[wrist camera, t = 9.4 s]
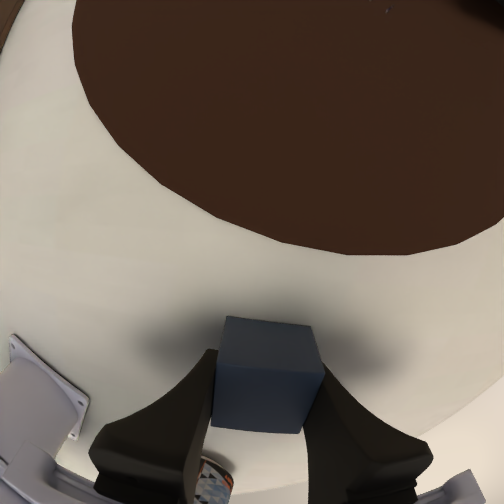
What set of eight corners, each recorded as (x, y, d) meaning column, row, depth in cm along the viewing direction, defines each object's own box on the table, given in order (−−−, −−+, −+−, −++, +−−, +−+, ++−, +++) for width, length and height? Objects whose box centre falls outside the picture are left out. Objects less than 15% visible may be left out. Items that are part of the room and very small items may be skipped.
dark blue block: (292, 385, 13) (299, 434, 10) (219, 377, 13) (210, 426, 10) (311, 325, 12) (325, 373, 9) (226, 315, 12) (216, 362, 9)
